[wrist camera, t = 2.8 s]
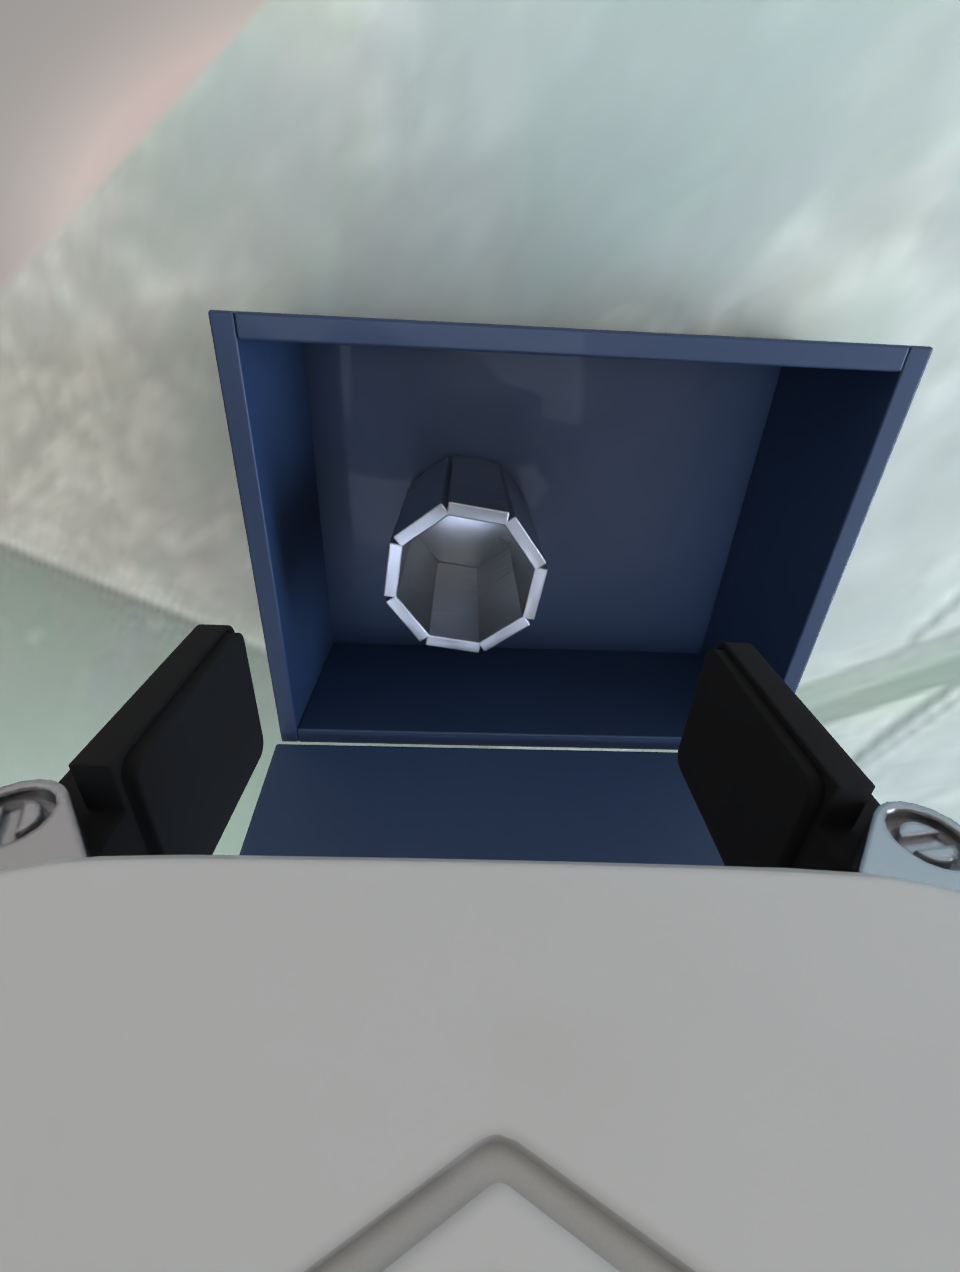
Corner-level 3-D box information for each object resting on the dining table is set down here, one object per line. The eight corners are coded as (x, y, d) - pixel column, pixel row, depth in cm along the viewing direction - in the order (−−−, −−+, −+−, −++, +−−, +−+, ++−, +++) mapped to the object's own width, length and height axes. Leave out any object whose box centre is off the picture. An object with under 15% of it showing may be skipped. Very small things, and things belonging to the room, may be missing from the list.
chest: (286, 313, 19) (206, 310, 13) (796, 339, 19) (935, 346, 14) (323, 646, 25) (281, 742, 19) (704, 657, 26) (772, 752, 20)
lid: (36, 1450, 9) (136, 1407, 11) (1130, 1419, 9) (969, 1385, 12) (276, 743, 19) (297, 812, 22) (781, 753, 20) (738, 819, 22)
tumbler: (382, 500, 21) (352, 564, 16) (480, 430, 20) (485, 471, 14) (452, 589, 23) (447, 674, 18) (545, 529, 22) (571, 600, 16)
